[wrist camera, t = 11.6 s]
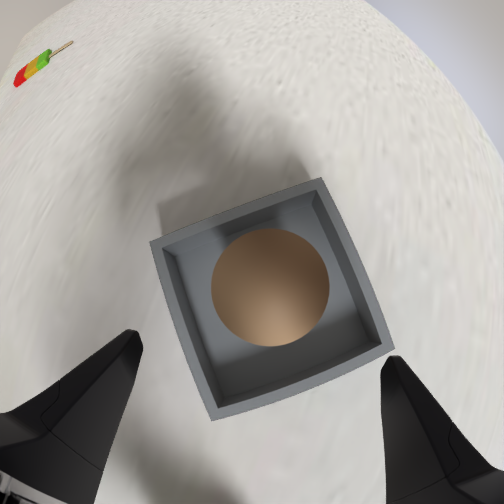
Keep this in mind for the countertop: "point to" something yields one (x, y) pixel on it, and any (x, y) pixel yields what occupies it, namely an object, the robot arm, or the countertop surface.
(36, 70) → the popsicle
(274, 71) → the countertop surface
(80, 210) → the countertop surface
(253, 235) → the walnut cylinder
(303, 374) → the tote
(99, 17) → the countertop surface
